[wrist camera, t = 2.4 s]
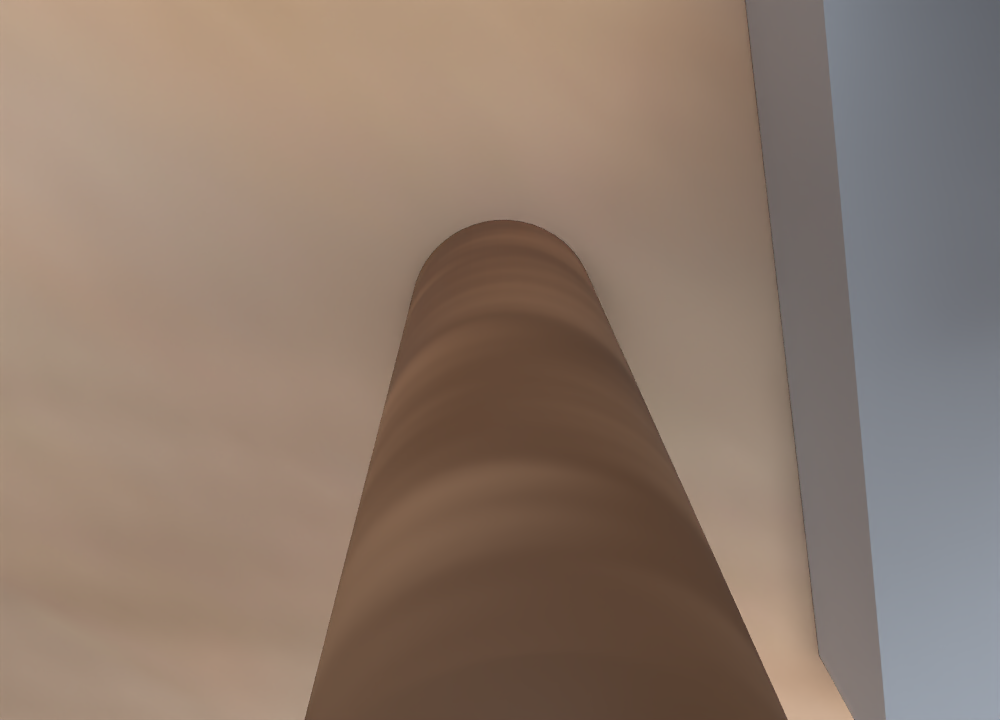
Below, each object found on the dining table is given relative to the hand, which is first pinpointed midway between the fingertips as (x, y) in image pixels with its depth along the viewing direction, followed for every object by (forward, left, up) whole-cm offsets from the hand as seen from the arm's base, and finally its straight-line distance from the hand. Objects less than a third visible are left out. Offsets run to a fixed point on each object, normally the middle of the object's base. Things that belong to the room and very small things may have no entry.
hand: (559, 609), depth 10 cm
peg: (0, 0, -11) cm, 11 cm away
